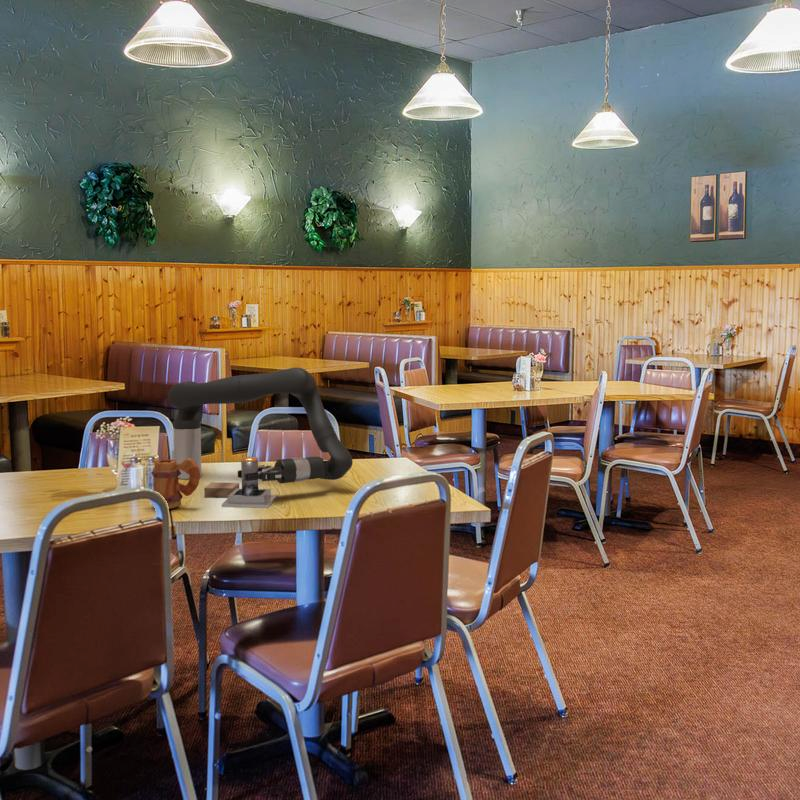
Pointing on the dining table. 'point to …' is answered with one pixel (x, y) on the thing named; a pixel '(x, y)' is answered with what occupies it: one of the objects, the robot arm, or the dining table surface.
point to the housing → (250, 499)
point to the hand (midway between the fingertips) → (241, 475)
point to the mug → (175, 479)
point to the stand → (220, 489)
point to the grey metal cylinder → (249, 467)
